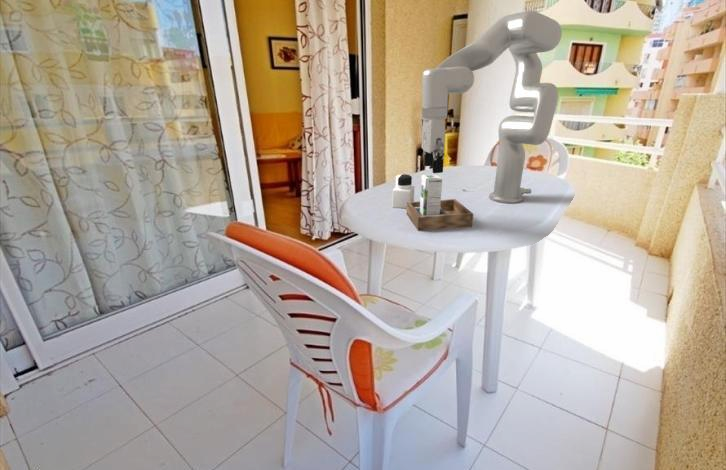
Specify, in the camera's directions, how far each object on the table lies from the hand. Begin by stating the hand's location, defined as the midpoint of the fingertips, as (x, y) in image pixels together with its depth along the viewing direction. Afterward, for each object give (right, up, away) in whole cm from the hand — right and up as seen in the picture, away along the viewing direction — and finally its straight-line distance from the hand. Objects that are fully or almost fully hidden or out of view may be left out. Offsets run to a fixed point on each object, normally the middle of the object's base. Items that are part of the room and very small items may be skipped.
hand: (433, 169), depth 110 cm
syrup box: (0, -16, +6) cm, 17 cm away
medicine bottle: (-7, -10, +23) cm, 26 cm away
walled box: (+3, -16, +7) cm, 18 cm away
